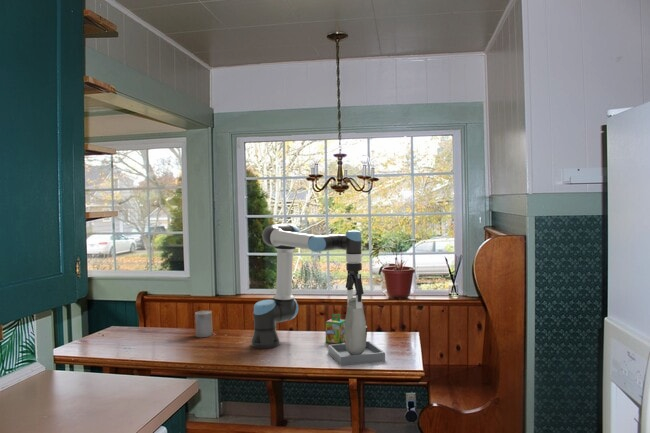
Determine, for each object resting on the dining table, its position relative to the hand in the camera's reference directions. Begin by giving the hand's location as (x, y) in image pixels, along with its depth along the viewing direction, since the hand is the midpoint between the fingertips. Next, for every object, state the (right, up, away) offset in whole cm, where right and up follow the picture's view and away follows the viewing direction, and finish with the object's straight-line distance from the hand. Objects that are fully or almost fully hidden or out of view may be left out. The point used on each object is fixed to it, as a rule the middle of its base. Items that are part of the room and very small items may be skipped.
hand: (354, 305), depth 259 cm
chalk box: (-8, -25, +30) cm, 40 cm away
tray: (+1, -25, 0) cm, 25 cm away
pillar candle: (-85, -26, +50) cm, 102 cm away
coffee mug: (+4, -25, +22) cm, 33 cm away
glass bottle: (+1, -24, +1) cm, 24 cm away
